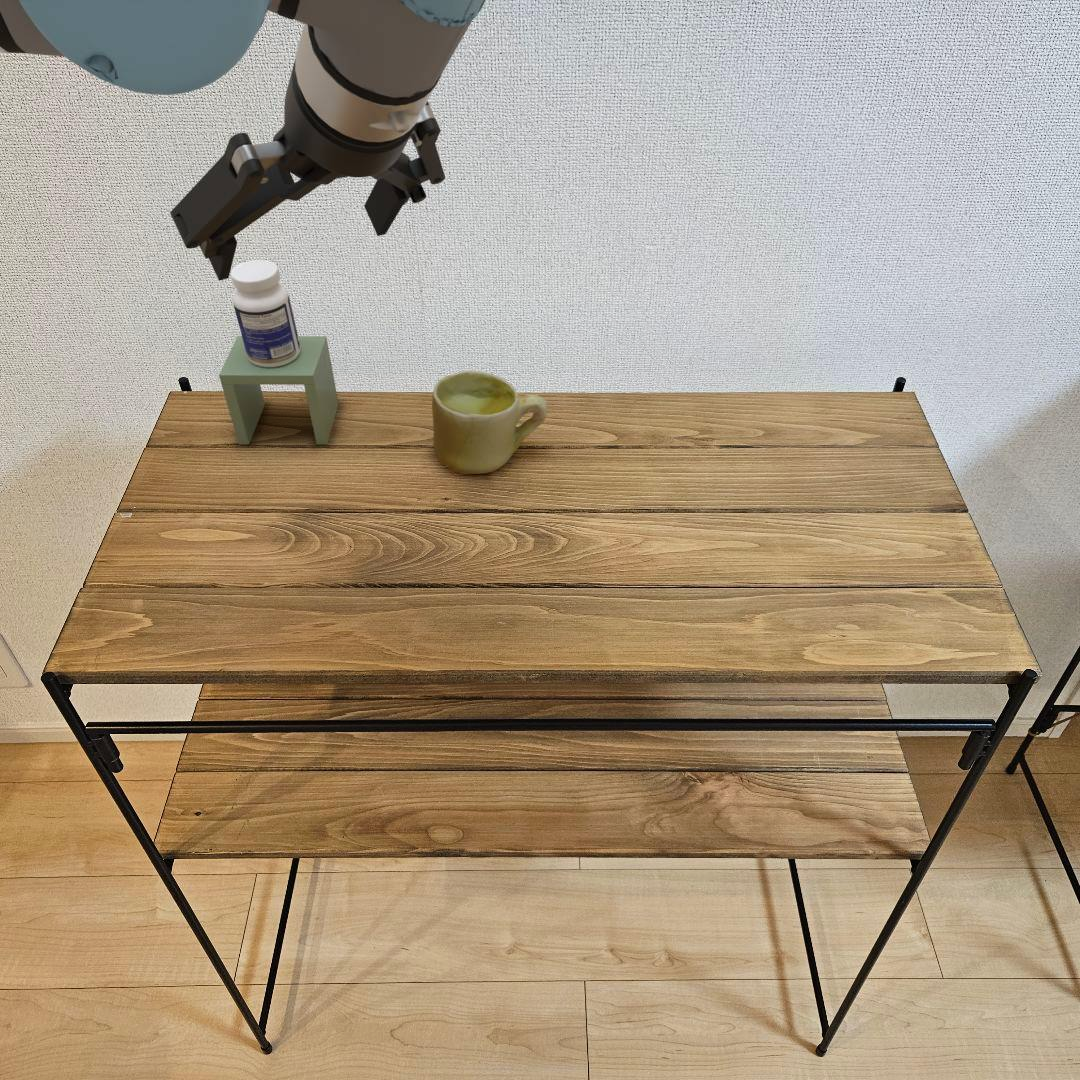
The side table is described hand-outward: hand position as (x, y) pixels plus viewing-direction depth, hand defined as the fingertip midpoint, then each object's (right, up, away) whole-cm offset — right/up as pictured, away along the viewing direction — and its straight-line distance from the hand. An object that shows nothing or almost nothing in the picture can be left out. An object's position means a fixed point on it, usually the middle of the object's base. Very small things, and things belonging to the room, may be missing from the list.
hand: (298, 240), depth 71 cm
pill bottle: (-10, -4, +26) cm, 28 cm away
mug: (+14, -14, +28) cm, 35 cm away
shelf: (-10, -10, +32) cm, 35 cm away
